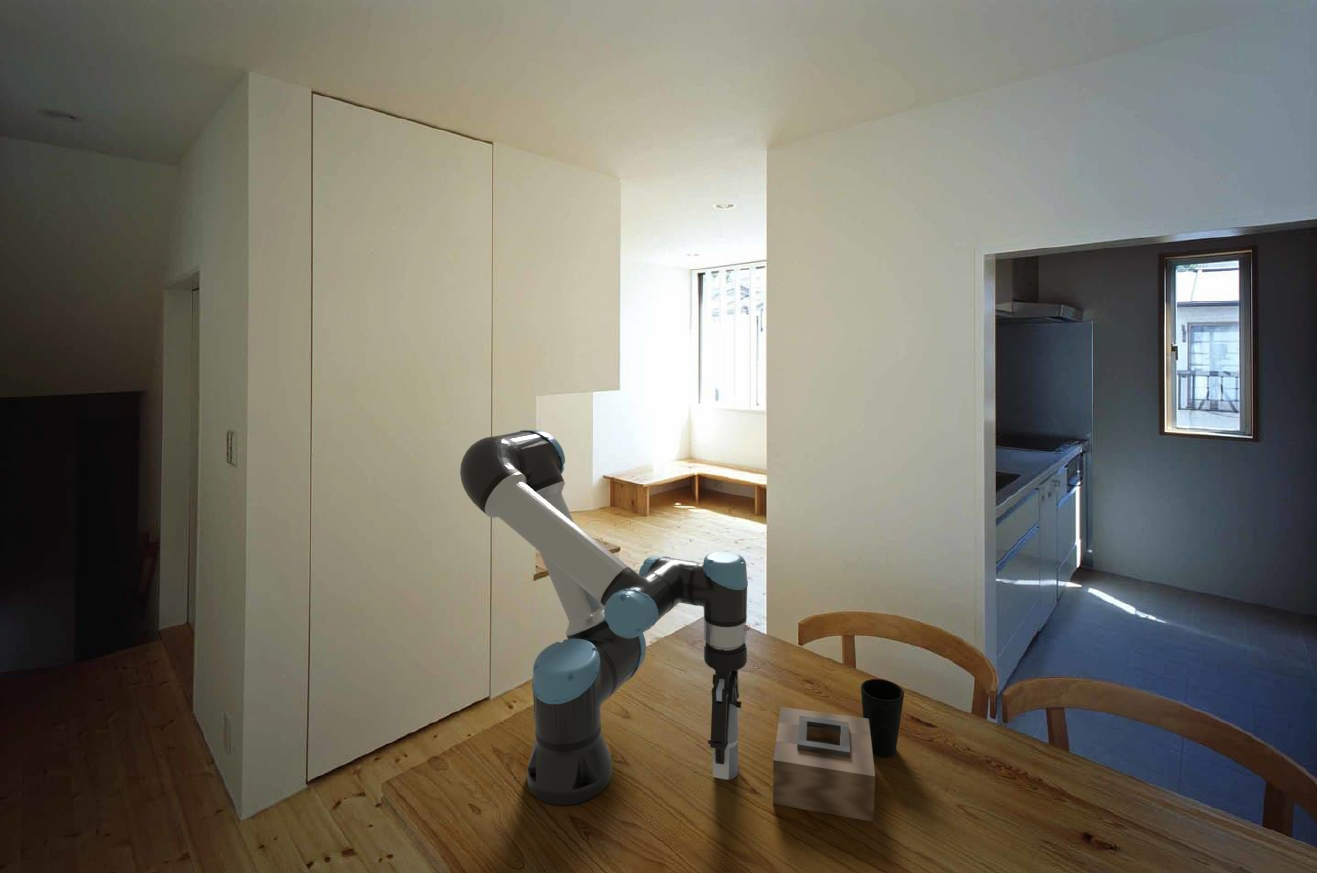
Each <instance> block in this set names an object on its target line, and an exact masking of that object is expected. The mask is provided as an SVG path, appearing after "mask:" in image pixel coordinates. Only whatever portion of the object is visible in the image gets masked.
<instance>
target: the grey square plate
mask: <svg viewBox="0 0 1317 873" xmlns="http://www.w3.org/2000/svg"><path fill="white" fill-rule="evenodd" d="M810 741H812V742H819V743H826V744H833V745H837V743H834V742H828V741H821V740H814V739H810Z"/></svg>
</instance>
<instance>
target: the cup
mask: <svg viewBox="0 0 1317 873" xmlns="http://www.w3.org/2000/svg"><path fill="white" fill-rule="evenodd" d="M860 694H861V708H862V718H867V719H869V725H870V734H871V743H872V752H873V756H876V757H879V758H891V757H893V756H895V754H896V752H897V744H898V739H899V732H900V726H901V717H902V712H903V705H904V699H905V692H904V690H903V688H902V687H901V686H900V685H898V684H897V683H894V682H892V681H890V680H886V679H882V678H869V679H867V680H865V681H863V682H862V683H861V685H860Z"/></svg>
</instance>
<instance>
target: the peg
mask: <svg viewBox="0 0 1317 873" xmlns="http://www.w3.org/2000/svg"><path fill="white" fill-rule="evenodd" d="M728 742H729V779H728V780H727V779H721V778H719V780H724V781H730V780H733V779H735V778H736V777H737V776H738V774H739V772H738V771H739V770H738V769H739V767H738V766H739V761H738V760H739V708H737V707H736V706H734V705H732V704H730V711H729V726H728Z"/></svg>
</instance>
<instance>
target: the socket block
mask: <svg viewBox="0 0 1317 873" xmlns="http://www.w3.org/2000/svg"><path fill="white" fill-rule="evenodd" d="M779 709H780V710H779V714H778V716H779V717H778V723H777V724H778V725H777V730H776V740H775V745H774V752H773V763H772V764H773V767H772V770H773V771H772V772H773V773H772V774H773V775H772V776H773V777H772V781H773V782H772V805H776V806H777V805H778V806H783V807H789V808H794V809H795V808H796V809H800V810H805V811H810V812H817V813H820V814H821V813H823V814H828V815H834V816H839V817H845V818H851V819H856V820H860V821H861V820H862V821H865V822H866V821H867V822H873V823H874V821H875V820H874V818H875V791H876V790H875V789H876V772H875V763H874V755H873V752H872V743H871V734H870V725H869V719H867V718H863V717H859V716H852V715H844V714H837V713H831V712H822V711H815V710H807V709H798V708H794V707H786V706H785V707H784V706H780V708H779ZM810 739H814V740H821V741H828V742H834V743H837V745H833V744H826V743H819V742H812V741H810Z"/></svg>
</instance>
